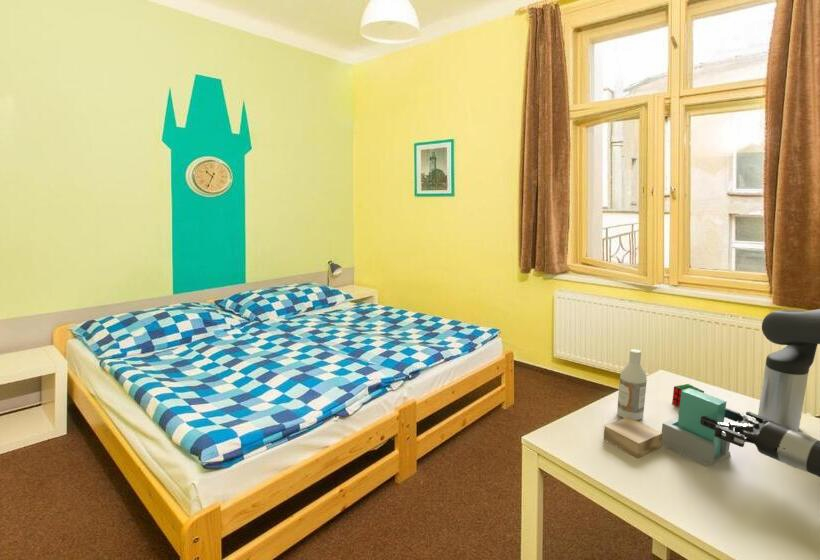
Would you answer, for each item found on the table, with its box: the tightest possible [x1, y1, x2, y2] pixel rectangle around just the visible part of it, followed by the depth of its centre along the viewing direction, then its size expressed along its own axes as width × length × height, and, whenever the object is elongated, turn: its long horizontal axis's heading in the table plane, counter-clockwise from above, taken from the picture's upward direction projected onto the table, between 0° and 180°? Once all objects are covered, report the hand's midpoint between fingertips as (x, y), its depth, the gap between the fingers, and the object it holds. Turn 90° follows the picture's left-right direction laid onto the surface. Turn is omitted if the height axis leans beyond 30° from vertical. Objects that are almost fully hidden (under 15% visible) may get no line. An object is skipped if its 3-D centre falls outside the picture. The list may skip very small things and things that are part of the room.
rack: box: [661, 416, 731, 469], centre depth 121 cm, size 10×13×6 cm
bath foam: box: [616, 348, 648, 421], centre depth 137 cm, size 7×7×20 cm
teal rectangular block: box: [677, 388, 728, 456], centre depth 119 cm, size 4×9×14 cm, turn 29°
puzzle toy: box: [671, 383, 705, 408], centre depth 144 cm, size 6×6×6 cm
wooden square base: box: [603, 417, 662, 459], centre depth 124 cm, size 10×10×4 cm
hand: (711, 415), depth 117 cm, fingers open, 8 cm apart
